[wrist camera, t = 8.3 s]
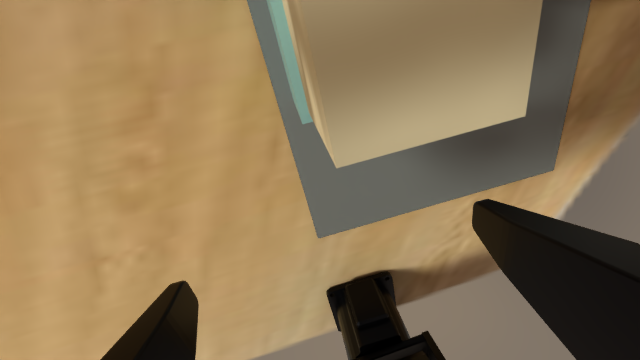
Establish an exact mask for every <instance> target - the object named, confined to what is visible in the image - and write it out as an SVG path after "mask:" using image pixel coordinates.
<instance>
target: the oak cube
mask: <svg viewBox="0 0 640 360" xmlns="http://www.w3.org/2000/svg"><path fill="white" fill-rule="evenodd" d="M542 2H543V0H282V3H283V7H284V11H285V15H286V19H287V24H288V28H289V32H290V36H291V40H292V44H293V48H294V53H295V57H296V61H297V65H298V69H299V73H300V77H301V81H302V86H303V90H304V94H305V98H306V102H307V106H308V110H309V114H310V116H311V118H312V120H313V122H314V124H315V126H316V128H317V130H318V132H319V134H320V136H321V138H322V140H323V142H324V144H325V146H326V148H327V150H328V152H329V154H330V156H331V158H332V160H333V162H334V164H335V166H336V168H340V167H344V166H347V165H351V164H354V163H358V162H362V161H365V160H369V159H372V158H376V157H380V156H383V155H387V154H390V153H394V152H398V151H401V150H405V149H409V148H412V147H416V146H419V145H423V144H427V143H430V142H434V141H437V140H441V139H445V138H448V137H452V136H456V135H459V134H463V133H466V132H470V131H474V130H477V129H481V128H484V127H488V126H492V125H495V124H499V123H502V122H506V121H510V120H513V119H517V118H521V117H524V116H525V115H526V109H527V102H528V95H529V89H530V82H531V75H532V69H533V62H534V55H535V49H536V42H537V35H538V29H539V22H540V16H541V9H542Z"/></svg>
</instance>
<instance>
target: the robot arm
mask: <svg viewBox="0 0 640 360" xmlns="http://www.w3.org/2000/svg"><path fill="white" fill-rule="evenodd" d="M472 226H473V229H474V231H475V232H476V234H477V235H478V237H479V238H480V240H481V241H482V243H483V244H484V245H485V247H486V248H487V250H488V251H489V253H490V254H491V256H492V257H493V259H494V260H495V262H496V263H497V265H498V266H499V267H500V269H501V270H502V271H503V273H504V274H505V275H506V276H507V278H508V279H509V280H510V281H511V282H512V284H513V285H514V286H515V287H516V288H517V289H518V291H519V292H520V293H521V294H522V295H523V297H524V298H525V299H526V300H527V301H528V303H529V304H530V305H531V306H532V307H533V309H535V311H536V312H537V313H538V314H539V316H540V317H541V318H542V319H543V320H544V322H545V323H546V324H547V325H548V326H549V328H550V329H551V330H552V331H553V332H554V333H555V334H556V336H557V337H558V338H559V339H560V341H561V342H562V343H563V344H564V345H565V346H566V348H567V349H568V350H569V351H570V352H571V353H572V355H573V356H574V357H575V358H576V360H640V245H639V244H638V243H635V242H632V241H628V240H625V239H622V238H618V237H615V236H611V235H608V234H605V233H601V232H598V231H594V230H591V229H588V228H585V227H581V226H578V225H574V224H571V223H568V222H564V221H561V220H558V219H554V218H551V217H547V216H544V215H541V214H537V213H534V212H531V211H527V210H524V209H521V208H517V207H514V206H510V205H507V204H504V203H500V202H497V201H494V200H490V199H485V200H481V201H477V202H475V203H474V205H473V216H472ZM327 297H328V300H329V303H330V307H331V310H332V313H333V316H334V319H335V322H336V325H337V328H338V331H341V332H342V336H343V340H344V344H345V348H346V352H347V356H348V360H446V359H445V358H444V356H443V355H442V353H441V351H440V350H439V348H438V346H437V345H436V343H435V342H434V340H433V338H432V337H431V335H430V334H429V332H428V331H426V332H423V333H422V334H421V335H418V336H415V337H412V338H410V336H409V334H408V331H407V329H406V327H405V325H404V323H403V321H402V319H401V316H400V314H399V312H398V310H397V308H396V302H395V295H394V287H393V280H392V276H391V274H390V273H389V272H384V273H381V274H377V275H374V276H371V277H367V278H364V279H360V280H357V281H354V282H350V283H347V284H344V285H340V286H337V287H334V288H330V289H328V290H327ZM197 323H198V300H197V297H196V296H195V294H194V292H193V291H192V289H191V288H190V286H189V284H188V283H187V282H186V281H180V282H176V283H172V284H170V285H169V286H168V287H167V288H166V289H165V290H164V291H163V292H162V294H161V295H160V296H159V297H158V298H157V299H156V300H155V301H154V302H153V303H152V304H151V305H150V307H149V308H148V309H147V310H146V311H145V312H144V313H143V314H142V315H141V316H140V317H139V318H138V320H137V321H136V322H135V323H134V324H133V325H132V326H131V327H130V328H129V329H128V330H127V331H126V333H125V334H124V335H123V336H122V337H121V338H120V339H119V340H118V341H117V342H116V343H115V344H114V346H113V347H112V348H111V349H110V350H109V351H108V352H107V353H106V354H105V355H104V356H103V357H102V359H101V360H195V355H196V341H197Z"/></svg>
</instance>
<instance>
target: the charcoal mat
mask: <svg viewBox="0 0 640 360" xmlns="http://www.w3.org/2000/svg"><path fill="white" fill-rule="evenodd" d="M247 2H248V6H249V9H250V12H251V16H252V19H253V22H254V26H255V29H256V32H257V36H258V39H259V42H260V46H261V49H262V52H263V56H264V59H265V62H266V66H267V69H268V72H269V76H270V79H271V82H272V86H273V89H274V93H275V96H276V99H277V103H278V106H279V109H280V113H281V116H282V119H283V123H284V126H285V129H286V133H287V136H288V139H289V143H290V146H291V149H292V153H293V156H294V159H295V163H296V166H297V169H298V173H299V176H300V180H301V183H302V186H303V190H304V193H305V196H306V200H307V203H308V206H309V210H310V213H311V216H312V220H313V223H314V226H315V230H316V233H317V236H318V238H322V237H325V236H329V235H332V234H336V233H339V232H343V231H346V230H349V229H353V228H356V227H360V226H363V225H367V224H370V223H374V222H377V221H380V220H384V219H387V218H391V217H394V216H398V215H401V214H405V213H408V212H411V211H415V210H418V209H422V208H425V207H429V206H432V205H436V204H439V203H442V202H446V201H449V200H453V199H456V198H460V197H463V196H467V195H470V194H474V193H477V192H480V191H484V190H487V189H491V188H494V187H498V186H501V185H505V184H508V183H511V182H515V181H518V180H522V179H525V178H529V177H532V176H536V175H539V174H542V173H546V172H549V171H553V170H554V166H555V162H556V157H557V153H558V148H559V144H560V139H561V135H562V130H563V125H564V121H565V116H566V112H567V107H568V103H569V98H570V93H571V89H572V84H573V80H574V75H575V71H576V66H577V62H578V57H579V52H580V48H581V43H582V39H583V34H584V30H585V25H586V21H587V16H588V11H589V7H590V2H591V0H543V2H542V9H541V16H540V22H539V29H538V35H537V42H536V49H535V55H534V62H533V69H532V75H531V82H530V89H529V95H528V102H527V109H526V115H525V116H524V117H521V118H517V119H513V120H510V121H506V122H502V123H499V124H495V125H492V126H488V127H484V128H481V129H477V130H474V131H470V132H466V133H463V134H459V135H456V136H452V137H448V138H445V139H441V140H437V141H434V142H430V143H427V144H423V145H419V146H416V147H412V148H409V149H405V150H401V151H398V152H394V153H390V154H387V155H383V156H380V157H376V158H372V159H369V160H365V161H362V162H358V163H354V164H351V165H347V166H344V167H340V168H336V166H335V164H334V162H333V160H332V158H331V156H330V154H329V152H328V150H327V148H326V146H325V144H324V142H323V140H322V138H321V136H320V134H319V132H318V130H317V128H316V126H315V124H314V122H310V123H306V124H302V122H301V119H300V116H299V114H298V111H297V108H296V106H295V103H294V100H293V97H292V93H291V89H290V85H289V82H288V78H287V74H286V71H285V67H284V63H283V59H282V56H281V52H280V48H279V45H278V41H277V37H276V33H275V30H274V26H273V22H272V19H271V15H270V11H269V7H268V4H267V0H247Z"/></svg>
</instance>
